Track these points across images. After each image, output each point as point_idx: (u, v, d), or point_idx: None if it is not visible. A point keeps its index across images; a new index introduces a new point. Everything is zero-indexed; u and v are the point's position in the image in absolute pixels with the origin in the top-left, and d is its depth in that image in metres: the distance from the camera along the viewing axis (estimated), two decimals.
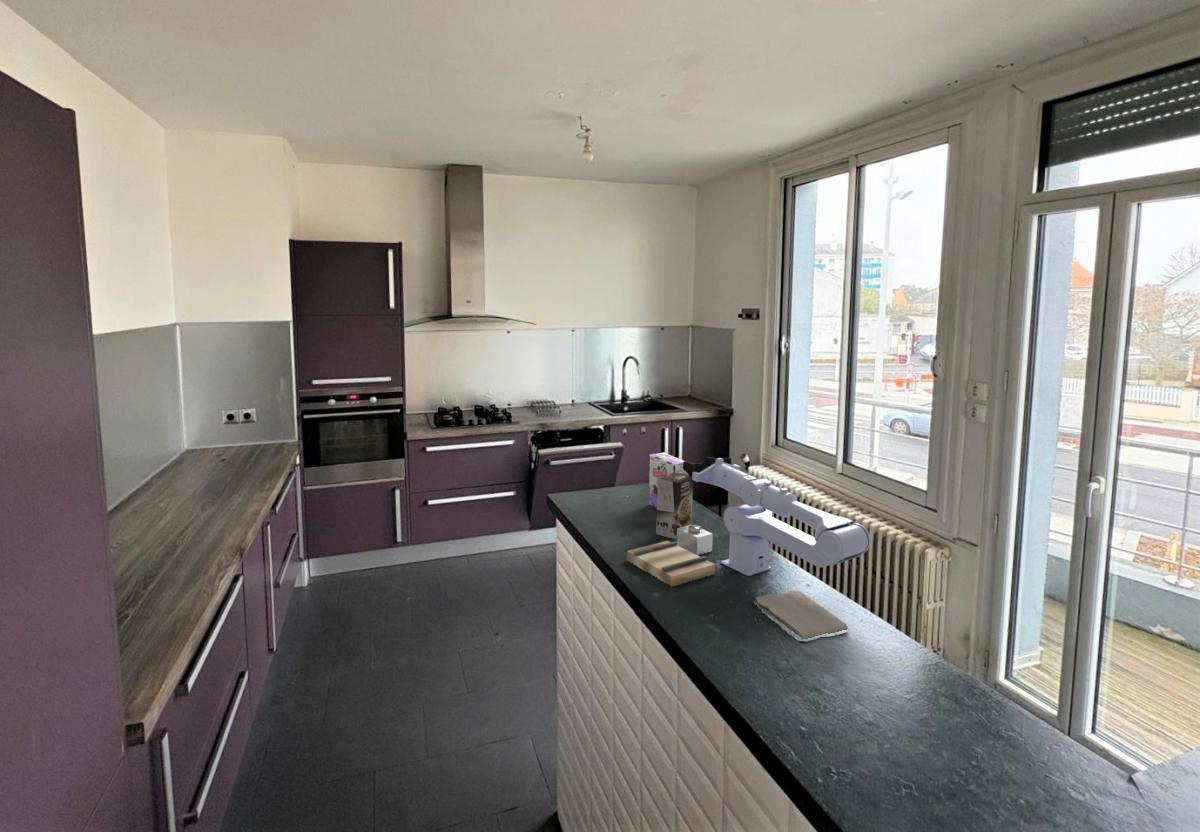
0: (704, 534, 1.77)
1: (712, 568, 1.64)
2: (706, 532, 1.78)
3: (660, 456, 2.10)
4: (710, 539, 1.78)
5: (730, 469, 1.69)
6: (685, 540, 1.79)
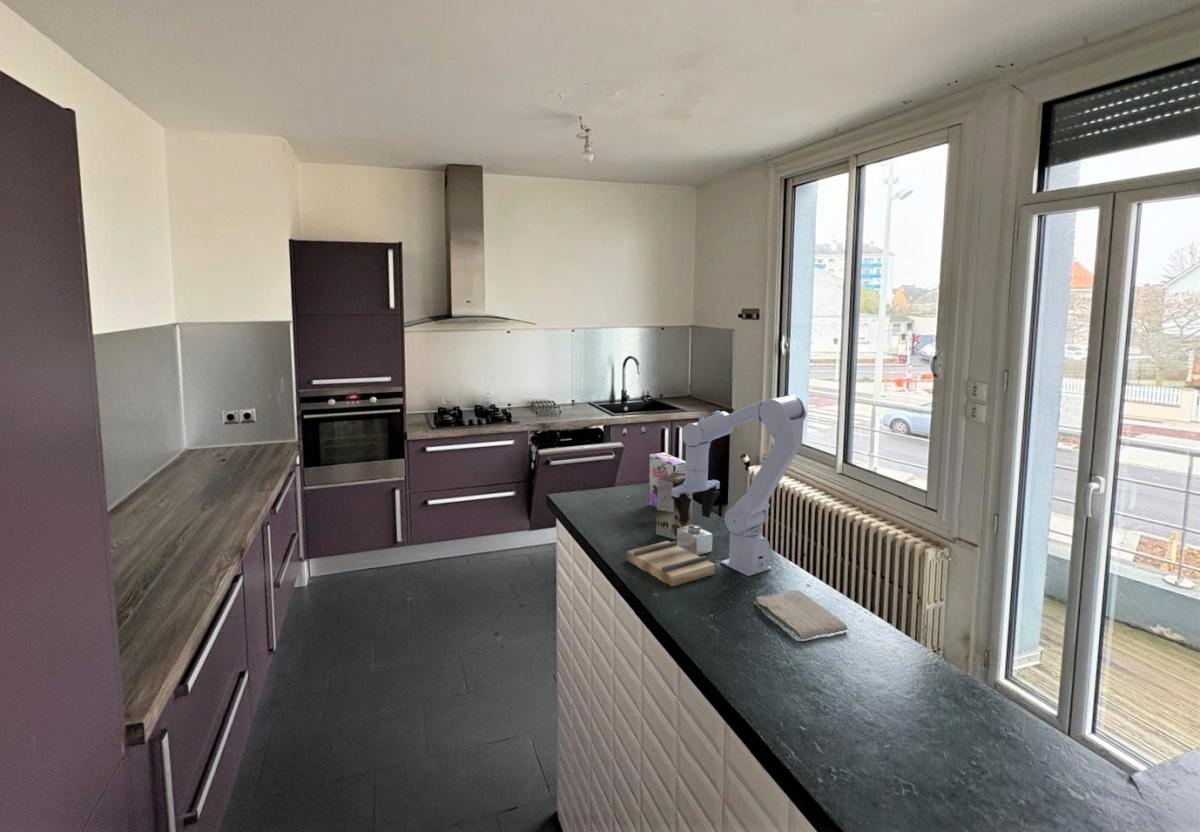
0: (704, 534, 1.77)
1: (712, 568, 1.64)
2: (706, 532, 1.78)
3: (660, 456, 2.10)
4: (710, 539, 1.78)
5: None
6: (685, 540, 1.79)
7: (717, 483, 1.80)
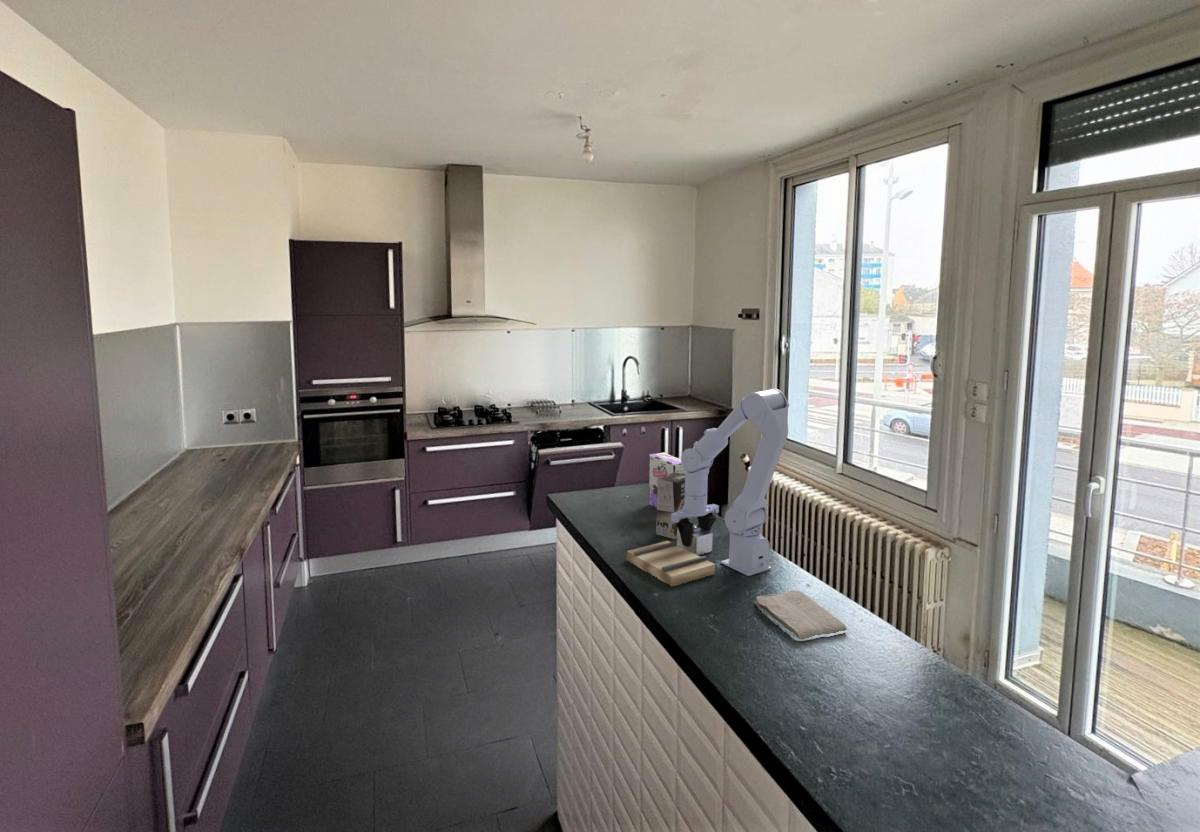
0: (704, 534, 1.77)
1: (712, 568, 1.64)
2: (706, 531, 1.78)
3: (660, 456, 2.10)
4: (710, 539, 1.78)
5: None
6: None
7: (716, 507, 1.81)
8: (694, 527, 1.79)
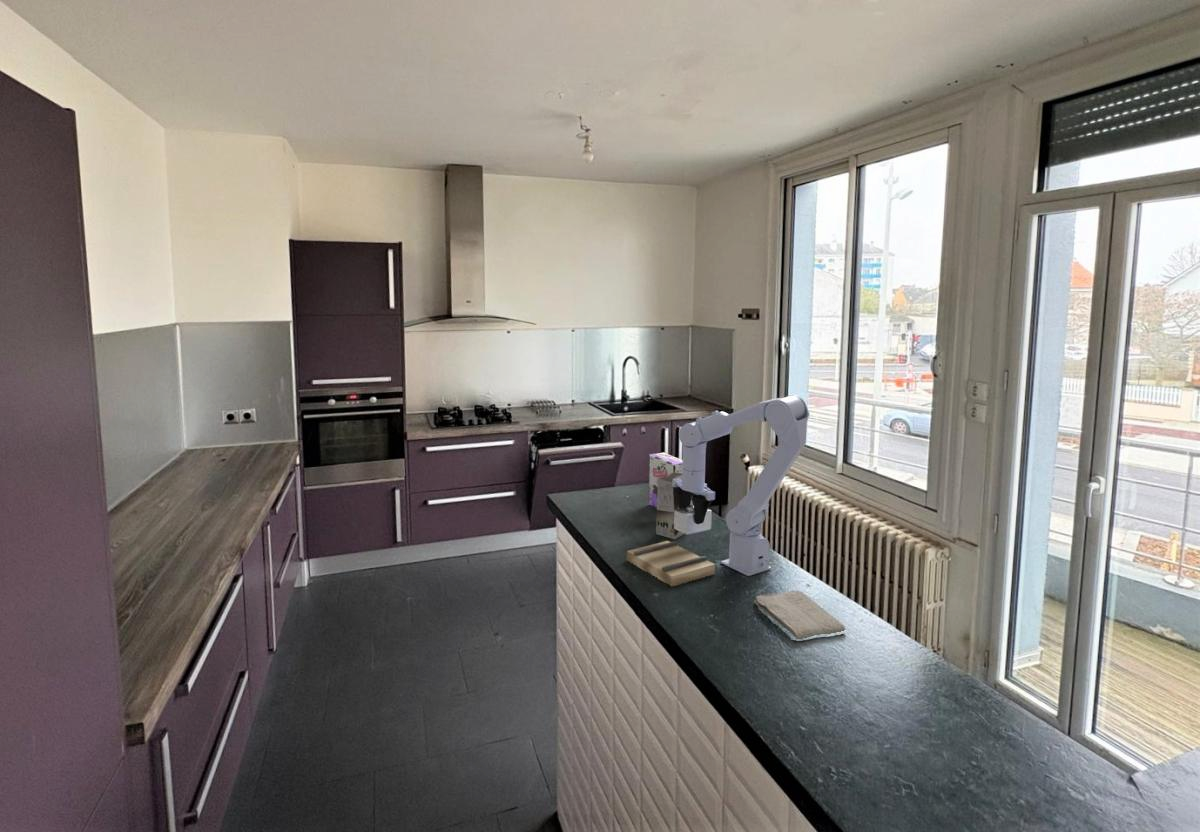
0: (683, 512, 1.75)
1: (712, 568, 1.64)
2: (689, 513, 1.74)
3: (660, 456, 2.10)
4: (685, 520, 1.74)
5: None
6: None
7: (706, 494, 1.70)
8: (690, 506, 1.77)
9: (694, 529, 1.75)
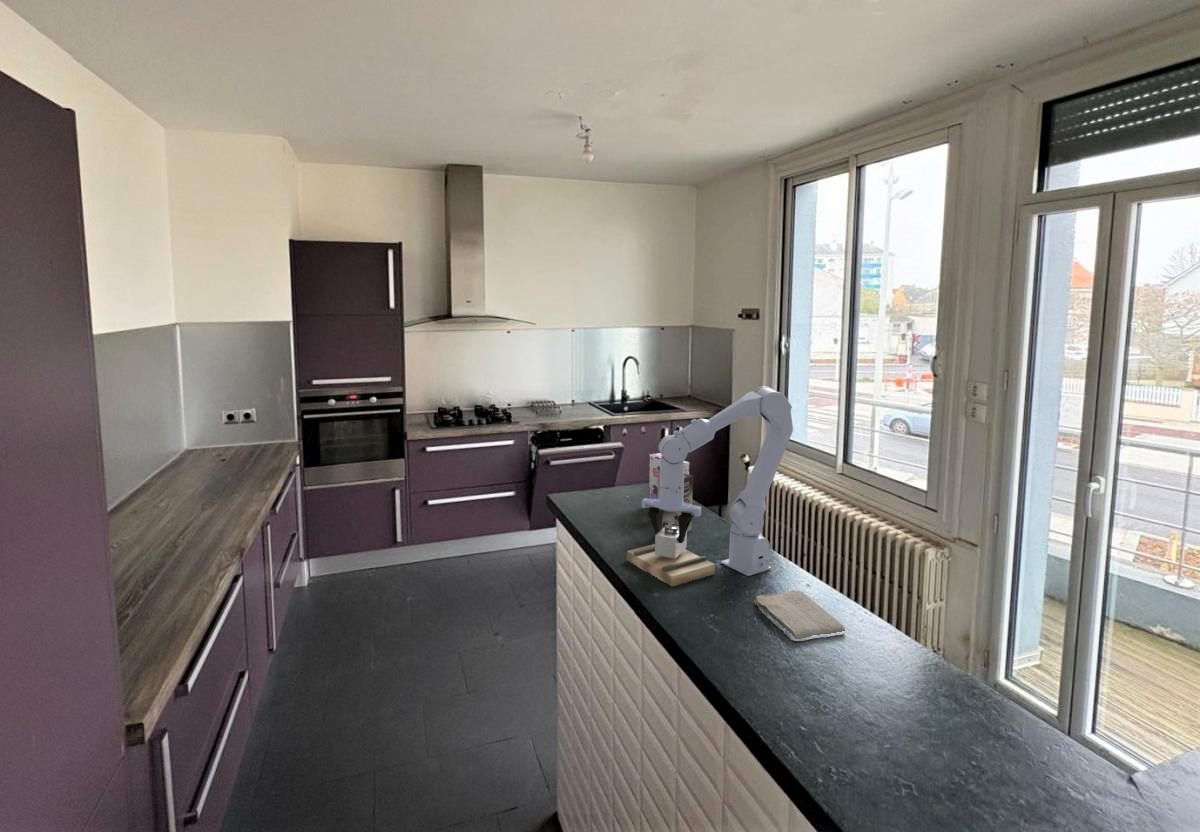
0: (667, 536, 1.64)
1: (712, 568, 1.64)
2: (674, 536, 1.65)
3: (660, 456, 2.10)
4: (672, 543, 1.64)
5: None
6: None
7: (695, 510, 1.62)
8: (669, 527, 1.67)
9: (678, 551, 1.66)
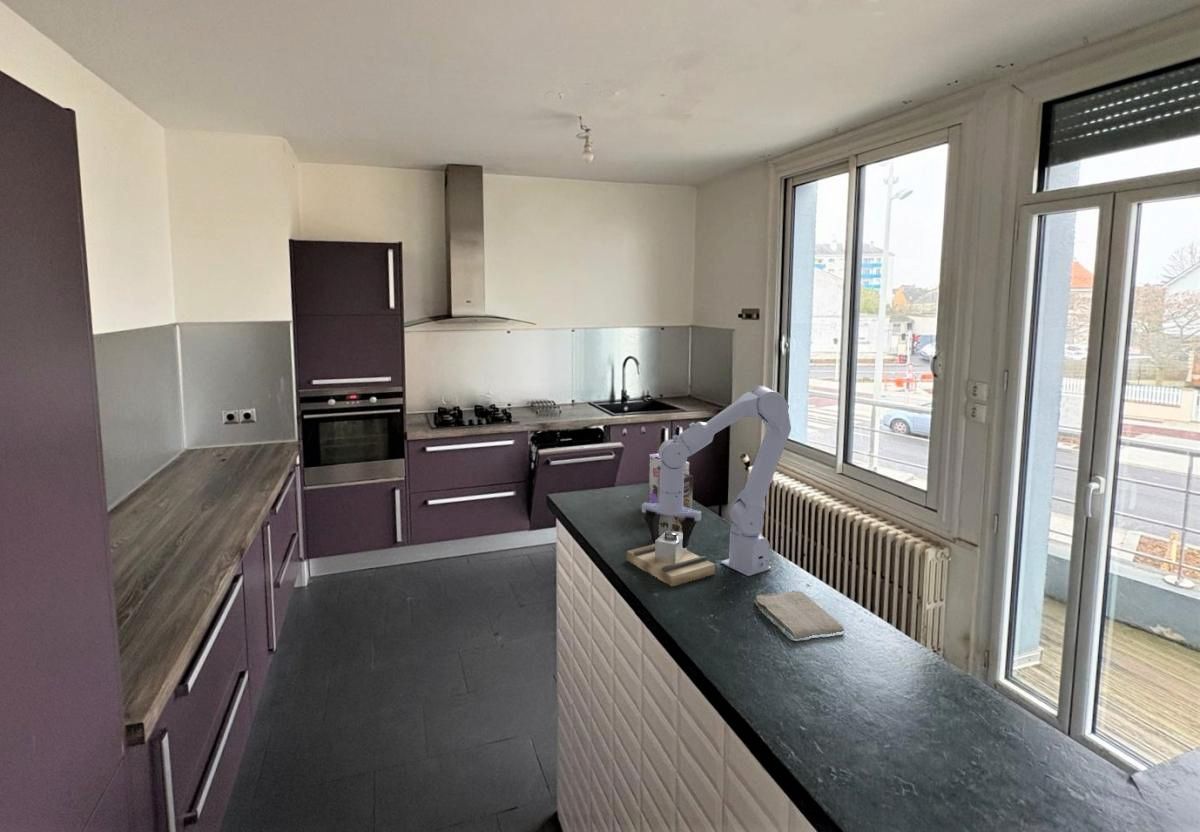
0: (667, 541, 1.65)
1: (712, 568, 1.64)
2: (674, 541, 1.65)
3: None
4: (672, 549, 1.64)
5: None
6: None
7: (695, 514, 1.62)
8: (669, 533, 1.67)
9: (678, 557, 1.66)
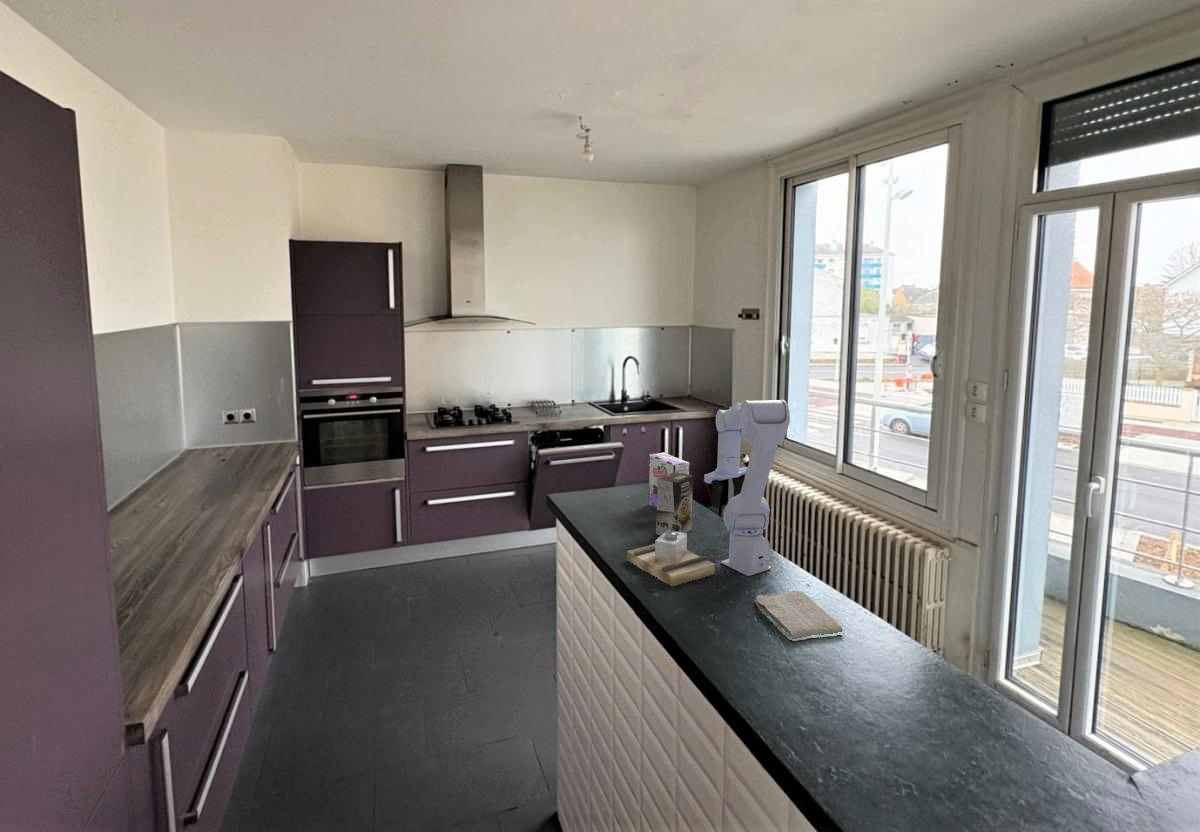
0: (667, 541, 1.65)
1: (712, 568, 1.64)
2: (674, 541, 1.65)
3: (660, 456, 2.10)
4: (672, 549, 1.64)
5: None
6: None
7: None
8: (669, 533, 1.67)
9: (678, 557, 1.66)
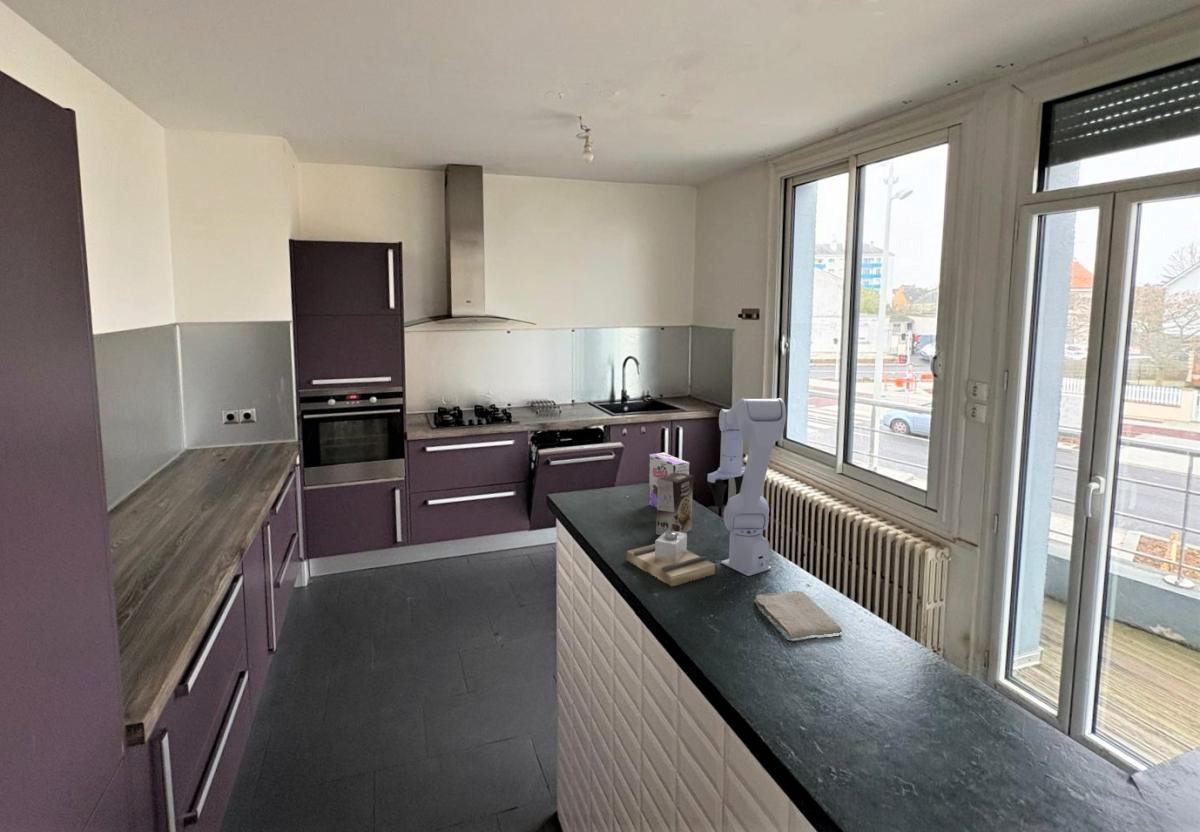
0: (667, 541, 1.65)
1: (712, 568, 1.64)
2: (674, 541, 1.65)
3: (660, 456, 2.10)
4: (672, 549, 1.64)
5: None
6: None
7: None
8: (669, 533, 1.67)
9: (678, 557, 1.66)
